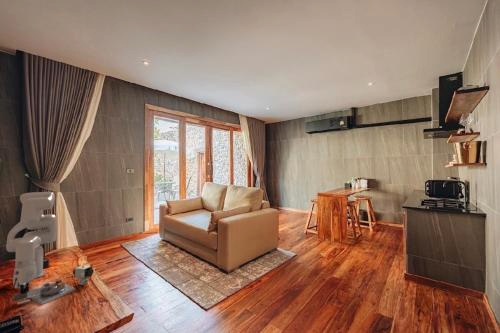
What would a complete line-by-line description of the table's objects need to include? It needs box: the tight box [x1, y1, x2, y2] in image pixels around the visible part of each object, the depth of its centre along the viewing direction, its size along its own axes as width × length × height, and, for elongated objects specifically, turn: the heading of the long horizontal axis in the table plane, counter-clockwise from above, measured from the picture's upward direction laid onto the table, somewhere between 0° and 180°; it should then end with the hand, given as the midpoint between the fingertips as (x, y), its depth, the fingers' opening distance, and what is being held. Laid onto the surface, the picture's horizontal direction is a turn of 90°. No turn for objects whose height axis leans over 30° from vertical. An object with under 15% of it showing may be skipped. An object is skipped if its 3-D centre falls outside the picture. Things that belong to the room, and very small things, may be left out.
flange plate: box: [16, 283, 76, 306], centre depth 127 cm, size 16×22×2 cm
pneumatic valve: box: [72, 264, 95, 286], centre depth 142 cm, size 6×12×12 cm, turn 78°
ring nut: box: [13, 279, 66, 302], centre depth 126 cm, size 22×11×4 cm, turn 137°
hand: (24, 294), depth 123 cm, fingers closed
